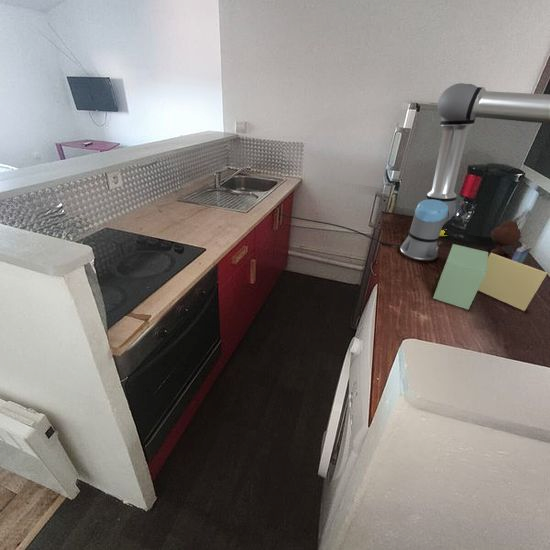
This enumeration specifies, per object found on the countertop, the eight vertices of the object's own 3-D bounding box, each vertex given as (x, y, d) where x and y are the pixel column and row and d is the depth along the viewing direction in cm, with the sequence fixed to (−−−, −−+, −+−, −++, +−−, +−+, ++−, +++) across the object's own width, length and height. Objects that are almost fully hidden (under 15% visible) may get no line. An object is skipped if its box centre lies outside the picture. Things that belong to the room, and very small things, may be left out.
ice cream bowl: (478, 247, 139) (491, 217, 131) (499, 247, 140) (514, 217, 132) (494, 258, 130) (509, 226, 122) (517, 257, 131) (533, 226, 123)
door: (481, 283, 112) (497, 248, 104) (530, 304, 101) (553, 267, 93) (473, 288, 109) (490, 253, 101) (524, 311, 98) (546, 273, 90)
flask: (511, 271, 120) (523, 248, 115) (504, 268, 122) (515, 245, 117) (522, 266, 124) (534, 243, 119) (514, 263, 127) (526, 240, 121)
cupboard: (471, 287, 109) (488, 252, 101) (468, 309, 98) (486, 271, 90) (439, 278, 114) (453, 243, 106) (432, 298, 103) (447, 261, 95)
